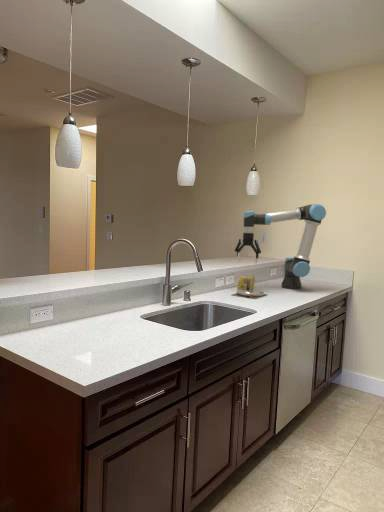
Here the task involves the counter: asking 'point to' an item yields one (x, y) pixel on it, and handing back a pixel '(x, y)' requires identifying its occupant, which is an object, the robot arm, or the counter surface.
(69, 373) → the counter surface
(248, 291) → the metal dish with post
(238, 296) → the base plate
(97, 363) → the counter surface
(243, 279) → the cheese
